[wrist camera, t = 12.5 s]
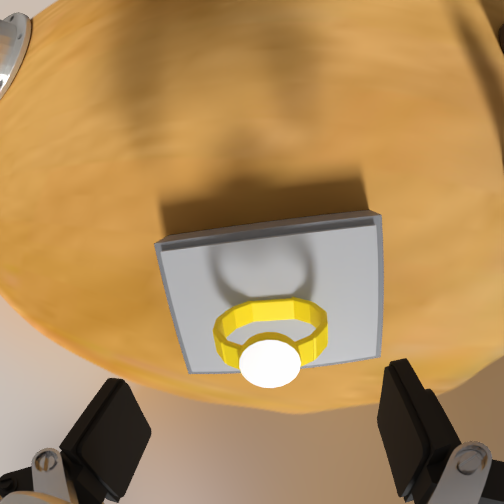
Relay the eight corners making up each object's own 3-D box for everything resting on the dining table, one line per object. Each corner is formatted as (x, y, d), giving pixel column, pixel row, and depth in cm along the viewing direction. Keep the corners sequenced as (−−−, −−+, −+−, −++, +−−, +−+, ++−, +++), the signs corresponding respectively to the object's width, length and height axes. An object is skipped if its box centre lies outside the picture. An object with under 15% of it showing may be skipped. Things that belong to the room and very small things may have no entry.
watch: (317, 282, 17) (342, 330, 12) (319, 322, 18) (340, 380, 12) (218, 292, 18) (200, 344, 12) (225, 331, 18) (212, 392, 13)
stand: (197, 355, 23) (187, 376, 20) (168, 235, 20) (151, 245, 18) (371, 338, 21) (381, 360, 18) (369, 209, 19) (383, 216, 16)
